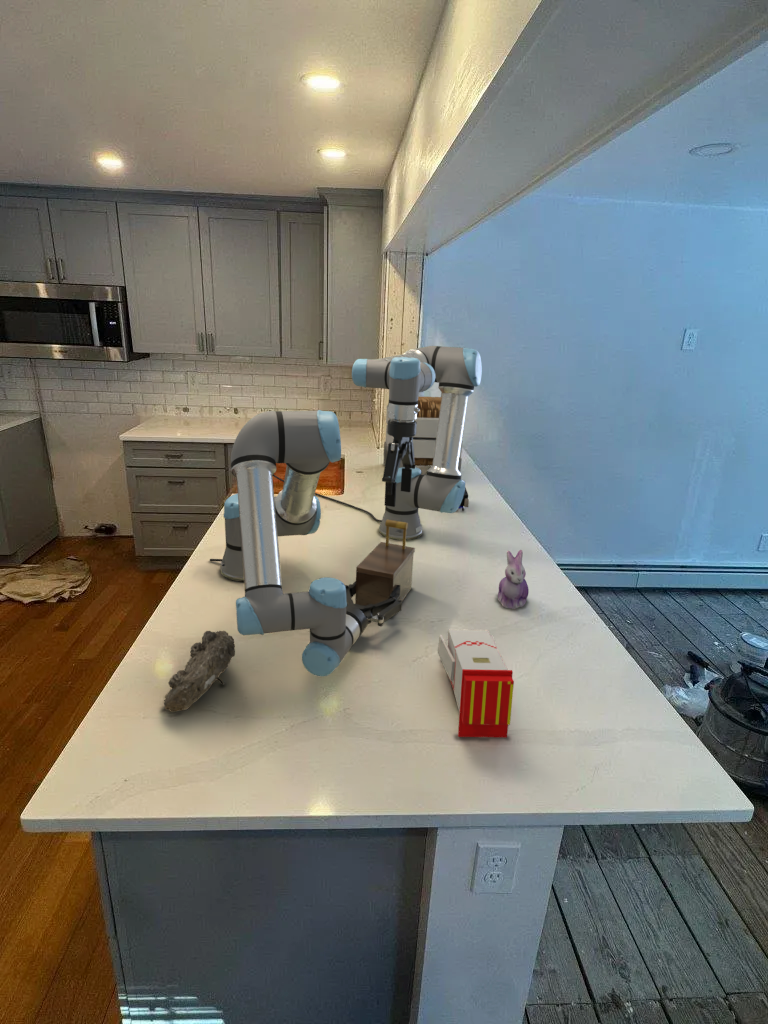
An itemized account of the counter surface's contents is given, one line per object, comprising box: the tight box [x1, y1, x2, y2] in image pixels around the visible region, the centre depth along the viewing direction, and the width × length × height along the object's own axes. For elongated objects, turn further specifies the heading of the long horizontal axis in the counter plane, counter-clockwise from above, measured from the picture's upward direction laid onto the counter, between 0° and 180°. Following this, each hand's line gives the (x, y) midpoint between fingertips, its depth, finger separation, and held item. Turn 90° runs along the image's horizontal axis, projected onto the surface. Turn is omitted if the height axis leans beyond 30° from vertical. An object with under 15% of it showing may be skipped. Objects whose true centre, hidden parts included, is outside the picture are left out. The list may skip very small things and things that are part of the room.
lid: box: [355, 519, 416, 579], centre depth 150 cm, size 18×10×9 cm, turn 160°
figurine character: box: [458, 486, 470, 512], centre depth 229 cm, size 7×8×15 cm
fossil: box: [163, 630, 236, 713], centre depth 116 cm, size 22×10×15 cm
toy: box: [437, 628, 515, 738], centre depth 117 cm, size 12×13×30 cm
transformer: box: [383, 391, 465, 474], centre depth 268 cm, size 34×33×41 cm
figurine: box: [497, 549, 530, 610], centre depth 154 cm, size 9×10×15 cm
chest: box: [354, 552, 415, 606], centre depth 153 cm, size 18×10×11 cm, turn 161°
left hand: (379, 585), depth 149 cm, fingers closed on chest, 10 cm apart
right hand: (398, 498), depth 153 cm, fingers open, 13 cm apart
